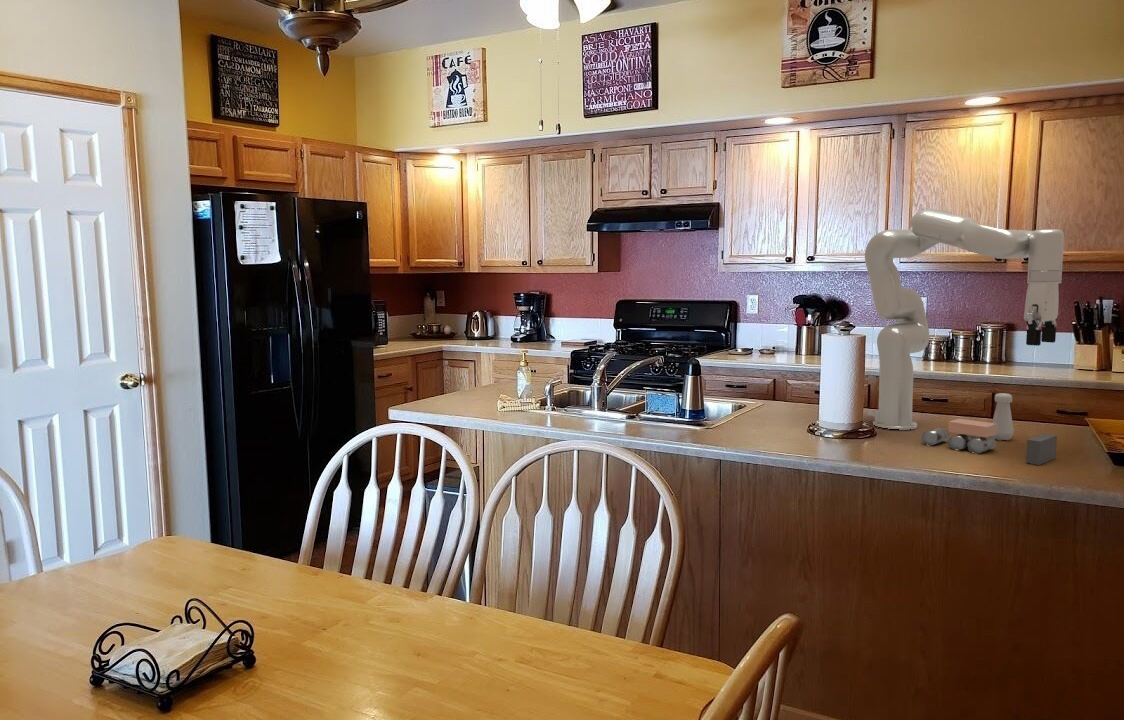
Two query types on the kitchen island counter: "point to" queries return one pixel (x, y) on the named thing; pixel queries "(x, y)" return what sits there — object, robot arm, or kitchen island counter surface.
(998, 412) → the salt shaker
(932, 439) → the loose steel roller
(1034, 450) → the rubber block
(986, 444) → the front steel roller
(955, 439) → the rear steel roller
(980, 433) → the terracotta slab
